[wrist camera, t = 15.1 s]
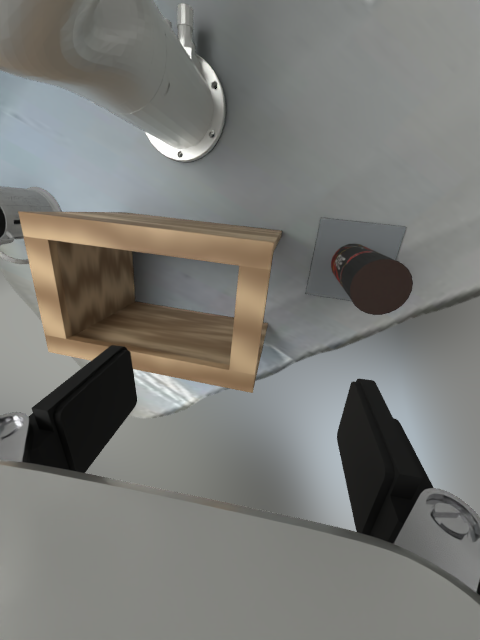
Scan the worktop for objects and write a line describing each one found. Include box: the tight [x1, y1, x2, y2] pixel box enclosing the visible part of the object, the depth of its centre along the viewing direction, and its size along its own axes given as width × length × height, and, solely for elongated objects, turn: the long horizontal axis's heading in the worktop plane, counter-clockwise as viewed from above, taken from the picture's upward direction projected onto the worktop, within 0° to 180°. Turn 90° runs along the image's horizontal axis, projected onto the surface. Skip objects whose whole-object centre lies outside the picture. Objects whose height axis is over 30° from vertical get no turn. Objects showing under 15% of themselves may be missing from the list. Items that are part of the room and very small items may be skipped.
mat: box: [305, 218, 406, 301], centre depth 41 cm, size 12×12×1 cm
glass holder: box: [0, 187, 61, 264], centre depth 41 cm, size 9×14×15 cm, turn 47°
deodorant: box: [331, 244, 413, 315], centre depth 34 cm, size 6×6×15 cm
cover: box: [18, 211, 282, 393], centre depth 38 cm, size 17×27×19 cm, turn 84°
